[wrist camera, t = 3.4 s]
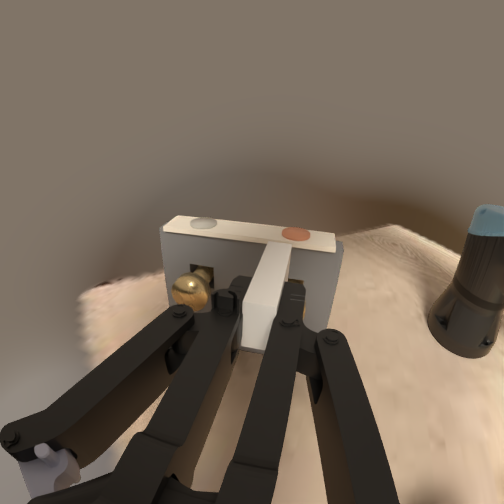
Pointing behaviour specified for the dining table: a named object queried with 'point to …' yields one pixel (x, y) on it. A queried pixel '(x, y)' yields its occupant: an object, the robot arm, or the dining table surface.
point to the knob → (193, 287)
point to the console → (252, 259)
